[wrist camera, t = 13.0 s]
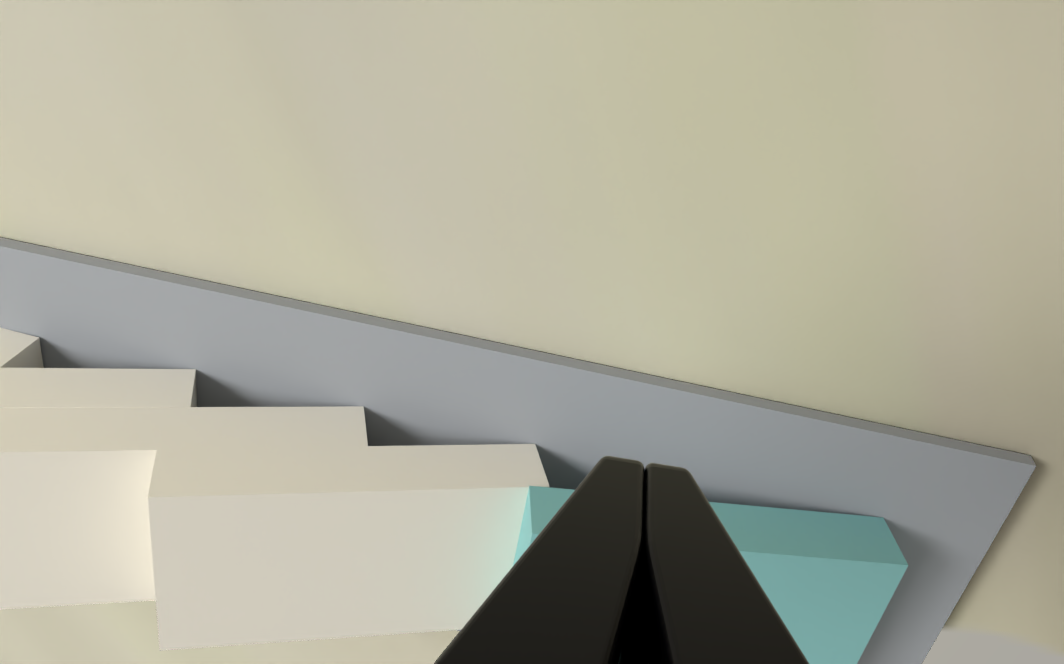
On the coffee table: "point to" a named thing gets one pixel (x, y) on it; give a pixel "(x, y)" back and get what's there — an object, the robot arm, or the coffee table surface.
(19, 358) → the domino
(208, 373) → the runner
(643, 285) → the coffee table surface
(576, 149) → the coffee table surface
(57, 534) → the domino
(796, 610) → the domino
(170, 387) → the domino
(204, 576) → the domino
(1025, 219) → the coffee table surface
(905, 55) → the coffee table surface
